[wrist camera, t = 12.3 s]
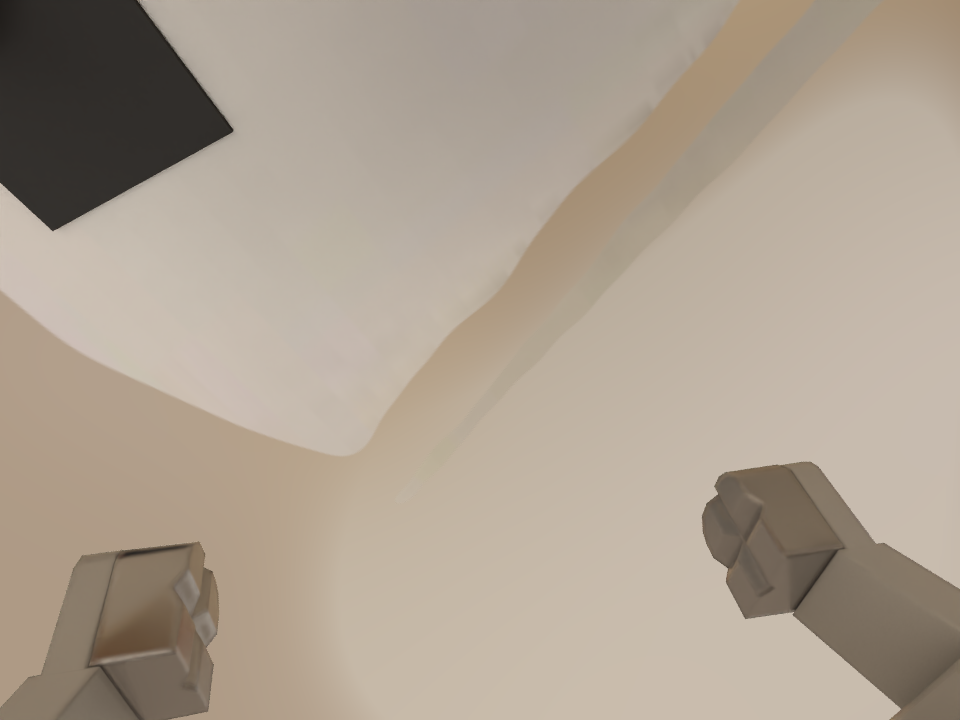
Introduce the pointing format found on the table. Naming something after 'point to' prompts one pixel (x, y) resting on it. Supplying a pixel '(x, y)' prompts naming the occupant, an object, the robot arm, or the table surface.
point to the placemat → (92, 104)
